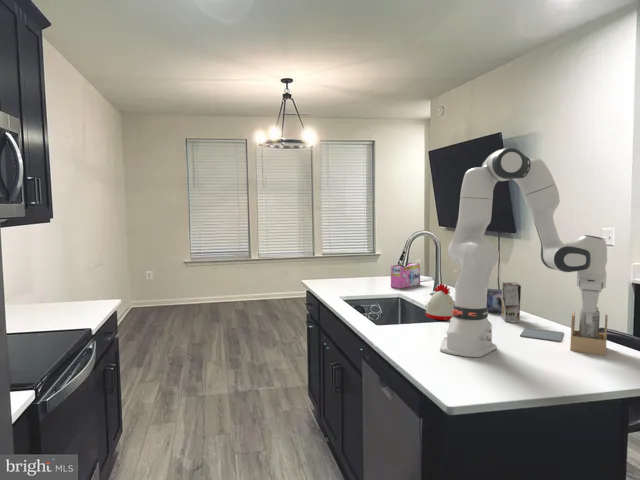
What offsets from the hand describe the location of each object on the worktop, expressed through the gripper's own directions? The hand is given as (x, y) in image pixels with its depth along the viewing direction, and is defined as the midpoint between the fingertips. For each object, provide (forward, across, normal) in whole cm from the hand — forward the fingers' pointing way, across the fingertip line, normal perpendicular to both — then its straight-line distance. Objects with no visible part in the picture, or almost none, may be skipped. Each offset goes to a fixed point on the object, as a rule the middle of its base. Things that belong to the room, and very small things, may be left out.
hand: (589, 320), depth 163 cm
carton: (+10, 0, 0) cm, 10 cm away
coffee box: (+10, -31, -31) cm, 45 cm away
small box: (+10, -44, -40) cm, 60 cm away
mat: (+10, -11, -16) cm, 22 cm away
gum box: (+10, -90, -103) cm, 137 cm away
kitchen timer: (+10, -21, -59) cm, 64 cm away
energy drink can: (+10, 0, 0) cm, 10 cm away
